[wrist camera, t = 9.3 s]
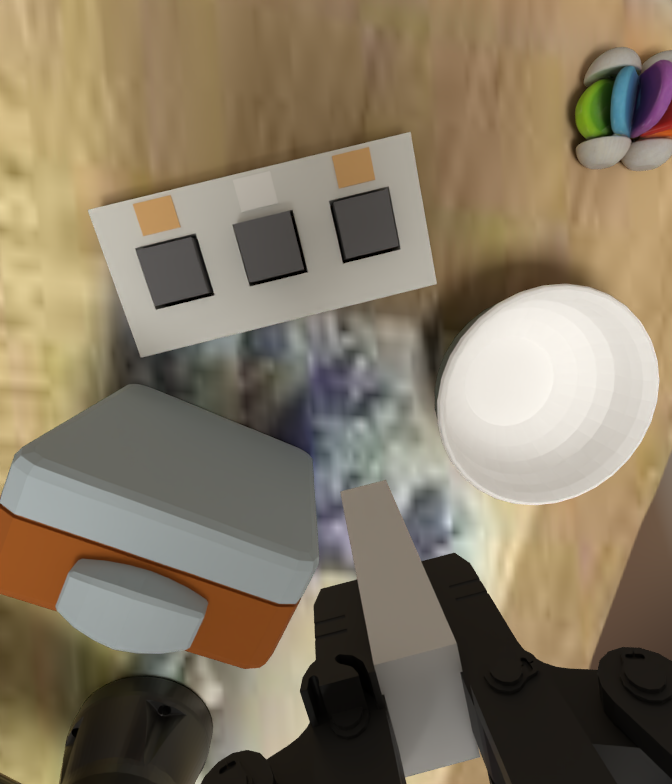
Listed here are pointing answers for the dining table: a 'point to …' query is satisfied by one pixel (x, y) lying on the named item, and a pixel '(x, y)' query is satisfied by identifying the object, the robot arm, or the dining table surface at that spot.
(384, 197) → the button
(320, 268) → the board
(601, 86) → the rainbow disc toy
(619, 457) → the bowl
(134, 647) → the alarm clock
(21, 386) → the dining table surface
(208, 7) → the dining table surface
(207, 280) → the button
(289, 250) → the button middle
